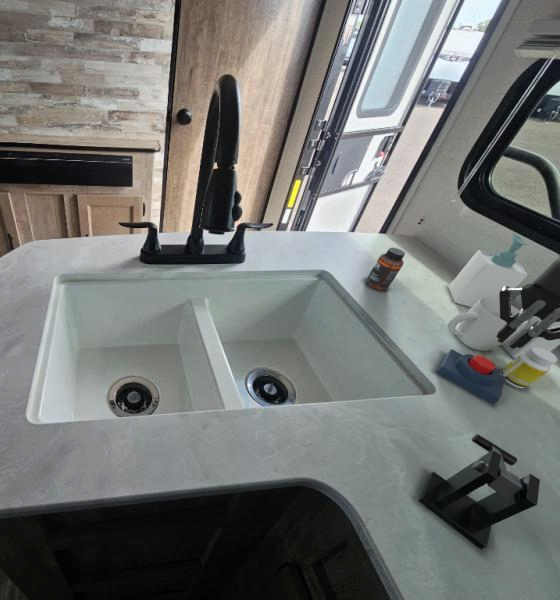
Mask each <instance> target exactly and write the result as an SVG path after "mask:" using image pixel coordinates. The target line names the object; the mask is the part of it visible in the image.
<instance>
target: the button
mask: <svg viewBox="0 0 560 600" xmlns="http://www.w3.org/2000/svg"><path fill="white" fill-rule="evenodd" d="M469 365H470V366H471V367H472V368H473V369H475V370H476V371H478V372H480V373H483V374H489V373H490V372H491V371H493V370H494V369H495V367H496V364H495V363H494V362H493V361H492V360H490V359H489V358H487V357H486V356H483V355H479V354H478V355H475V356H474V357H473V358H472V359H471V360H470V361H469Z"/></svg>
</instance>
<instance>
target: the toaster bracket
mask: <svg viewBox="0 0 560 600" xmlns="http://www.w3.org/2000/svg"><path fill="white" fill-rule="evenodd" d="M500 460H501V455H500V454H498V453H497V452H495V451H494V450H492V451H490V452H489V453H488V452H487V453H486V454H484V455H482V456H481V457H480V458H478V459H476V460H475V461H474V462H471V463H470V464H469V465H467V466H465V467H464V468H462V469H461V470H460V471H458V472H456V473H454V474H453V475H452V476H450V477H448V478H447V479H445V478H443V476H441V475H440V474H438V473H437V472H435V471H431V472H430V473H429V474H428V475H427V478H426V481H425V483H424V485H423V487H422V490H421V492H420V495H419V498H418V502H419V504H421V505H422V506H424V508H426V509H427V510H429V511H430V512H432V514H434V515H435V516H437V517H438V518H439V519H441V520H442V521H443V522H444V523H446V524H447V525H448V526H449V527H450V528H452V529H453V530H455V531H456V532H458V533H459V534H460V535H461V536H463V537H464V538H465V539H466V540H468V541H469V542H470V543H472V544H473V545H474V546H476V547H477V548H478V549H479V550H483V549H486V548H487V547H488V543H489V538H490V534H491V528H492V526H493V525H495V524H498V523H501V522H502V521H504V520H506V519H508V518H511V517H514V516H515V515H517V514H521V513H522V512H525V511H527V510H529V509H531V508H533V507H536V506H538V501H539V492H540V484H541V479H540V478H538V477H537V476H535V475H533V474H532V473H529V474H526V475H524V476H523V477H521V478H519V480H520V483H521V486H522V489H521V490H519V491H518V492H517V493H516V494H514V495H513V496H512V497H511V498H509V499H506V498H505V497H503V496H502V495H500V494H499V493H497V492H496V491H494V492H493V493H490V494H489V495H486V496H485V497H483V498H481V499H480V500H477V501H476V500H475V499H473V498H472V497H470V496H469V495H470V494H471V493H472V492H474V491H476V490H479V489H480V488H482V487H483V486H485V485H487V483H489V482H490V481H492V480H494V479H496V478H497V473H498V469H499V464H500Z"/></svg>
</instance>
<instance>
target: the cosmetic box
mask: <svg viewBox="0 0 560 600" xmlns="http://www.w3.org/2000/svg"><path fill="white" fill-rule="evenodd" d="M537 320H538V317H536V316H532V317H530V318H529V319H528V323H527V324H526V325H525V326H524V327H523V328H522V329H521V330H520V331H519V332H518V333H517V334H516V335H514V336H513V337H512V338H510V339H509V340H508V341H506V342H504V343H503V344H501V347H502V348H503V349H504V350H505V352H507V353H508V354H509V355H510V356H511V357H512V358H514V359H516V358H517V357H518V356H519V355H520V354H522V353H525V352H527V351H528V350H530V349H531V348H532V347H540V348H543V349H545V350H547V351H549V352H551V353H552V351H553V350H555V349H556V348H558V346H560V339H556V340H546V339H544V338H542V337H534V338H533V339H532V340H530V341H529V342H528V343H527V344H526V345H524V346H523V347H521V348H518V347H516V348H515V349H513V348H511V347H509V345H510V342H511V341H512V340H513V339H514V338H516V337H517V336H518V335H519V334H520V333H521V332H522V331H523V330H525V329H528V328H530V326H531V325H532V324H534V323H535V322H536V321H537ZM557 326H560V322H554V323H553V324H552V325H551V326H549V327H548V328H553V327H557ZM548 328H547V329H548Z"/></svg>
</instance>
